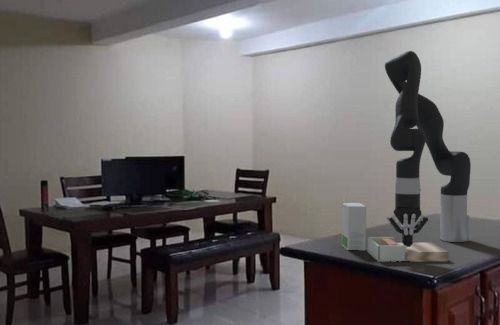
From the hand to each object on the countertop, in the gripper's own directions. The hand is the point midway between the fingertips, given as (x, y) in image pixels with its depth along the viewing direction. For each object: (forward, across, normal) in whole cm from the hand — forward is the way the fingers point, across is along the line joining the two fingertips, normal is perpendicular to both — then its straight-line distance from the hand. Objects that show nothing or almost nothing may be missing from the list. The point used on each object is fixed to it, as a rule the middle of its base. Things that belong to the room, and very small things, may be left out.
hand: (407, 246), depth 155 cm
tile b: (+1, +3, -1) cm, 4 cm away
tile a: (+1, +4, -6) cm, 7 cm away
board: (+4, -5, -3) cm, 7 cm away
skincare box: (+4, +14, -16) cm, 21 cm away
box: (+4, +6, -3) cm, 8 cm away
